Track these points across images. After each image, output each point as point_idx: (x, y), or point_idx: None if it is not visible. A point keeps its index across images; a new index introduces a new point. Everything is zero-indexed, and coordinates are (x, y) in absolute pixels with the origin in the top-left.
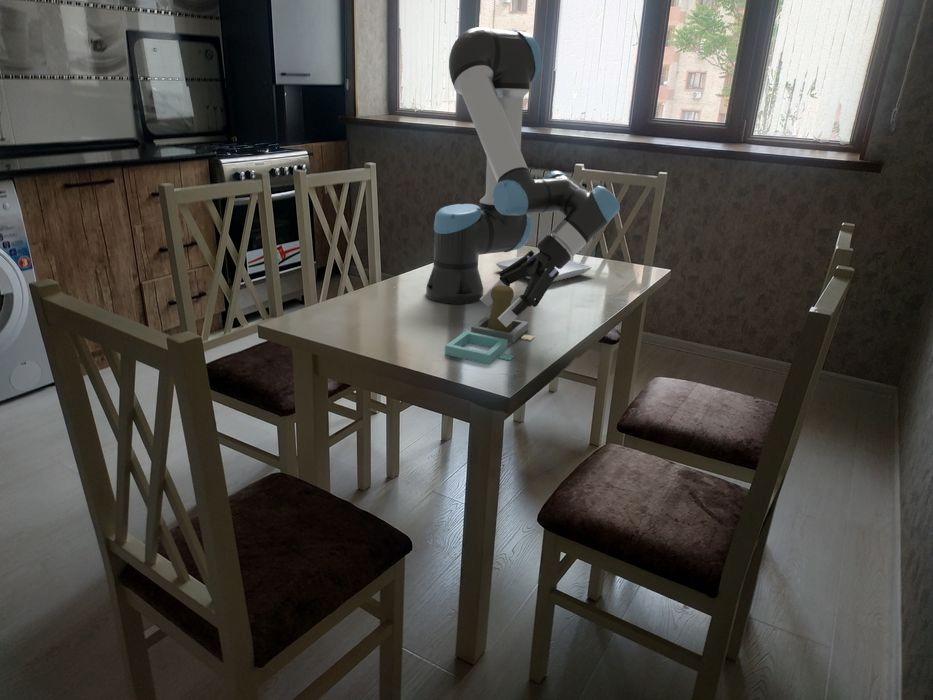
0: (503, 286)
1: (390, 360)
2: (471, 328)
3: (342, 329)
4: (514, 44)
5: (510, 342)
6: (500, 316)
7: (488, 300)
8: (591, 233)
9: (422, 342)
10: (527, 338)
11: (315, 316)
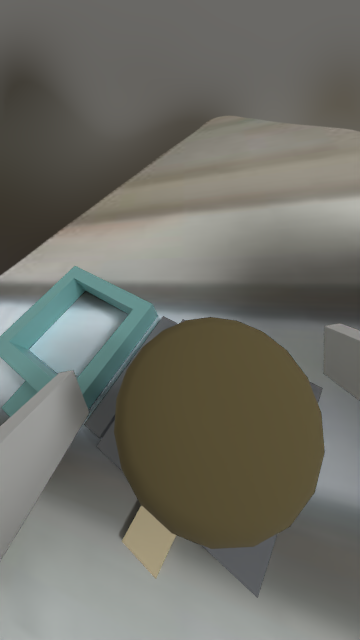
0: (219, 410)
1: (86, 217)
2: (182, 321)
3: (209, 162)
4: None
5: (98, 435)
6: (57, 379)
7: (343, 365)
8: None
9: (149, 246)
10: (136, 526)
11: (260, 134)
